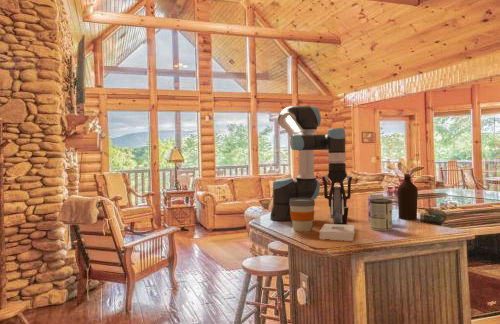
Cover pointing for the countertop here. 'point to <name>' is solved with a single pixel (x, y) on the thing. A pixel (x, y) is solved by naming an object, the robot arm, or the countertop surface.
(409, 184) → the olive oil
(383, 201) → the coffee can
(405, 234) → the countertop surface
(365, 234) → the countertop surface
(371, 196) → the supplement can
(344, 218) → the coffee mug
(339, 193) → the steel pin
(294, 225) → the reusable coffee cup
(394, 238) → the countertop surface
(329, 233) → the block with square hole
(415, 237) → the countertop surface
